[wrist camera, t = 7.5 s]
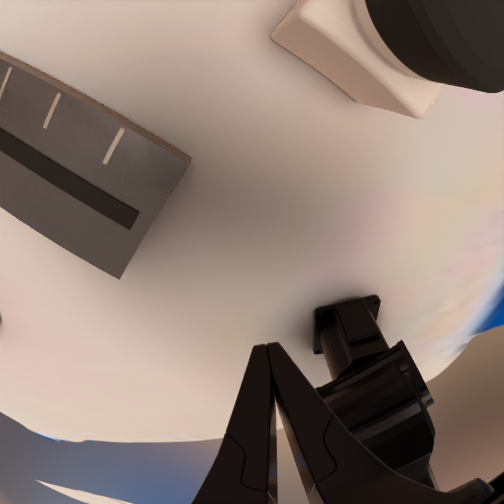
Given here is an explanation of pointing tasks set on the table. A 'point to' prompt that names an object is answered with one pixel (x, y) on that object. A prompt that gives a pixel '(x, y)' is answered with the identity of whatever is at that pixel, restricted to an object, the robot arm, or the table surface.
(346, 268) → the table surface
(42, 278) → the table surface
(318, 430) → the robot arm
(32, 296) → the table surface
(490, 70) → the medicine bottle
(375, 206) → the table surface
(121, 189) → the board
